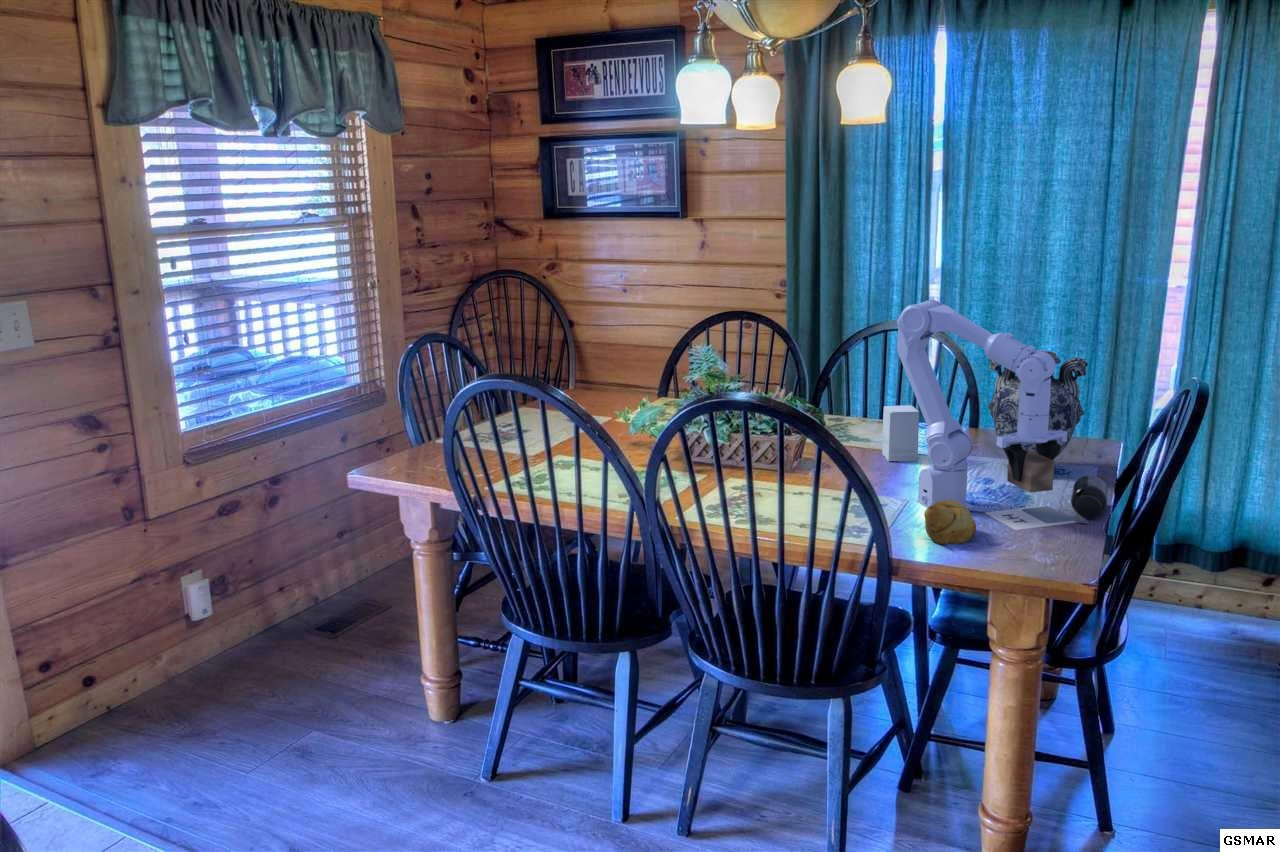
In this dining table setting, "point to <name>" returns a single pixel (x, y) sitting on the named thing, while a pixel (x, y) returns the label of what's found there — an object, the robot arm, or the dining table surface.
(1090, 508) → the supplement bottle
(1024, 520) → the board
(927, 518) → the bread roll
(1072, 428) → the decorative vase
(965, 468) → the robot arm
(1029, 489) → the walnut block
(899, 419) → the supplement box
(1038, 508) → the pad
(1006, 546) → the dining table surface
